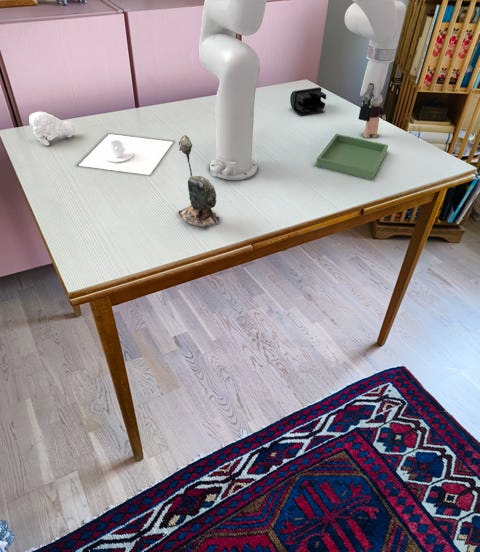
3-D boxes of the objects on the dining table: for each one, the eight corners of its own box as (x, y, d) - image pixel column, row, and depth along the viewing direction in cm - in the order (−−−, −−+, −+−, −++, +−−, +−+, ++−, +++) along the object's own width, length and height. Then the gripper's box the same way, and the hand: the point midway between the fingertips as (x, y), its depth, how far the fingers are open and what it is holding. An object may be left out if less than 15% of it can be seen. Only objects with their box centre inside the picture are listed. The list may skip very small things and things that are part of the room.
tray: (372, 179, 122) (374, 171, 120) (315, 166, 127) (317, 158, 125) (386, 152, 134) (388, 145, 132) (334, 141, 139) (335, 133, 137)
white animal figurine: (25, 109, 128) (69, 105, 134) (30, 139, 134) (72, 134, 139) (30, 117, 124) (75, 113, 130) (36, 147, 130) (79, 142, 135)
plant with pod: (194, 238, 101) (190, 153, 87) (175, 211, 108) (169, 130, 95) (227, 228, 104) (228, 145, 90) (207, 203, 111) (205, 123, 98)
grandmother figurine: (377, 132, 144) (386, 91, 136) (382, 137, 142) (392, 95, 133) (354, 134, 143) (362, 92, 134) (359, 139, 140) (368, 97, 132)
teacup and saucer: (112, 147, 132) (109, 133, 129) (138, 150, 131) (136, 136, 128) (98, 161, 125) (96, 147, 123) (126, 165, 124) (124, 150, 121)
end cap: (314, 104, 160) (316, 84, 155) (325, 112, 155) (328, 91, 151) (288, 108, 157) (290, 88, 152) (299, 116, 152) (301, 95, 147)
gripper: (375, 43, 133) (362, 102, 145) (359, 59, 122) (347, 122, 133) (401, 47, 131) (386, 107, 143) (388, 63, 119) (373, 127, 131)
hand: (367, 114), depth 138 cm, fingers open, 9 cm apart
